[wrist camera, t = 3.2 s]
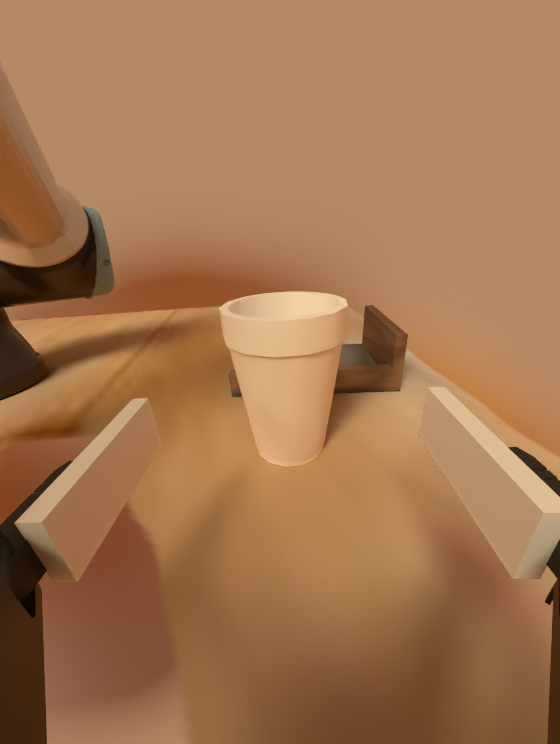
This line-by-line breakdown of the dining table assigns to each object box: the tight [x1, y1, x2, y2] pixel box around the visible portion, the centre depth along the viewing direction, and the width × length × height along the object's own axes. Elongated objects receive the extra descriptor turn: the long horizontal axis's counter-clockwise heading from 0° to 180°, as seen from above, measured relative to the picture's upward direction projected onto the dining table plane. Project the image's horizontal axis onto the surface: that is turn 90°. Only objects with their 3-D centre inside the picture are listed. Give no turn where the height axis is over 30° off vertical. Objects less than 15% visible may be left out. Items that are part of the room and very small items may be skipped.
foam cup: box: [219, 292, 348, 467], centre depth 24 cm, size 10×9×13 cm
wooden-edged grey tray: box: [229, 305, 408, 397], centre depth 40 cm, size 20×14×7 cm
